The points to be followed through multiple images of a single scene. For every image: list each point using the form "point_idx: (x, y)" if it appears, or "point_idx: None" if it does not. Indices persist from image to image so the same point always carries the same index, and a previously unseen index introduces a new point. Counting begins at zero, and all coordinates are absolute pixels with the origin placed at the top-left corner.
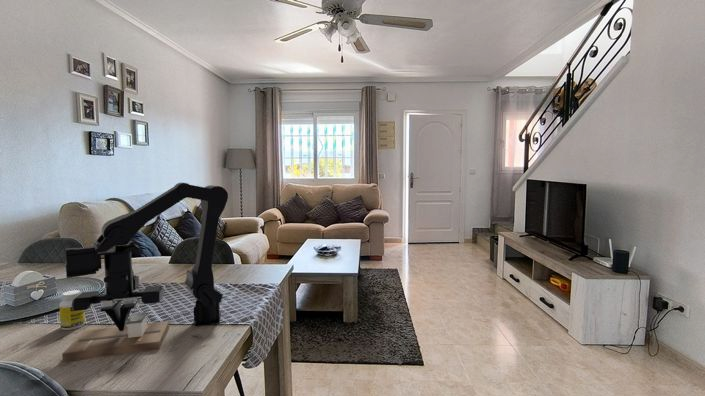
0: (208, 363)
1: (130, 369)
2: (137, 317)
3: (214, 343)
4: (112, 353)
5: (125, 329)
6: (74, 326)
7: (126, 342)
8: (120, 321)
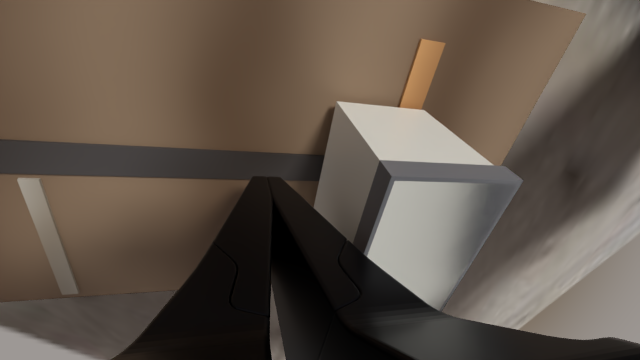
0: (503, 326)
1: None
2: (419, 278)
3: (576, 245)
4: None
5: (259, 44)
6: None
7: None
8: (277, 311)
